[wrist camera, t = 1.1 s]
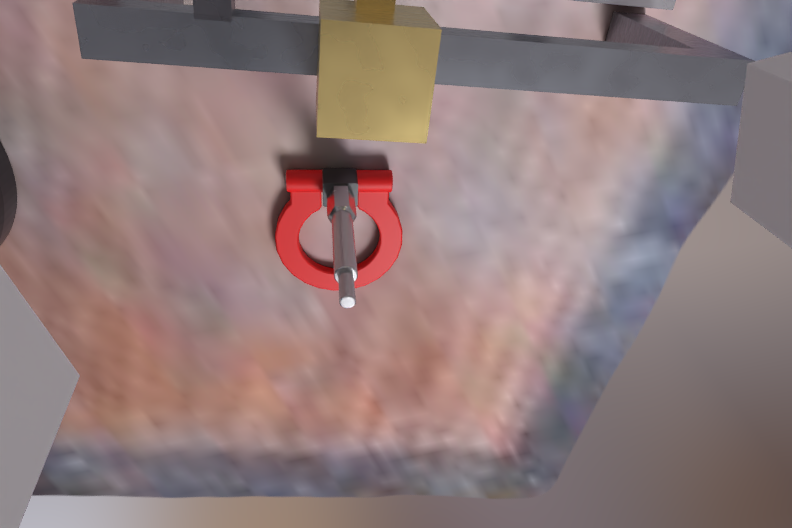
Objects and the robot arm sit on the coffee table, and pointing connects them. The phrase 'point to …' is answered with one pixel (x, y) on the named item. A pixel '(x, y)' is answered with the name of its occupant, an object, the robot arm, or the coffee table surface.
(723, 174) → the coffee table surface
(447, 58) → the dividers beam
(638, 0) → the flange plate
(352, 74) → the slider block
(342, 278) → the tow hook
